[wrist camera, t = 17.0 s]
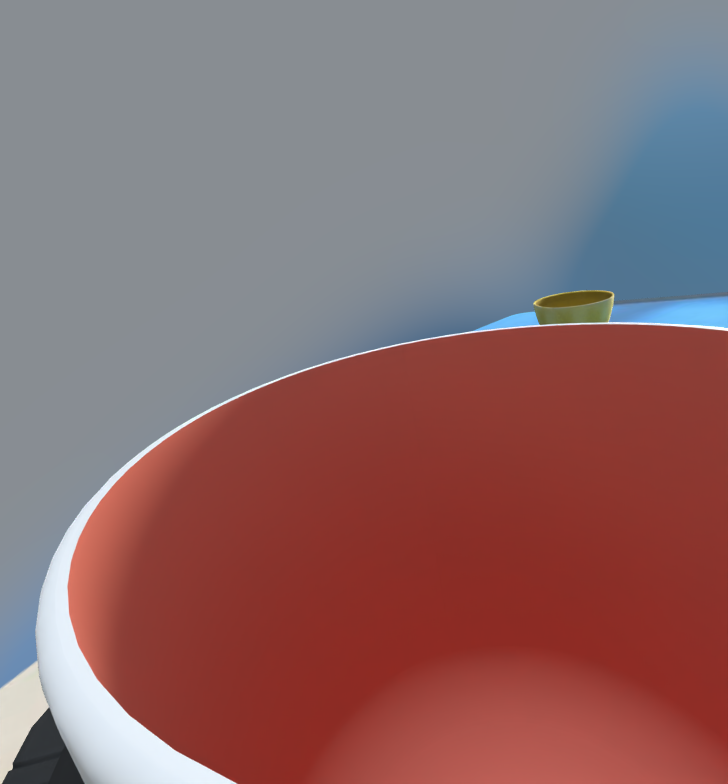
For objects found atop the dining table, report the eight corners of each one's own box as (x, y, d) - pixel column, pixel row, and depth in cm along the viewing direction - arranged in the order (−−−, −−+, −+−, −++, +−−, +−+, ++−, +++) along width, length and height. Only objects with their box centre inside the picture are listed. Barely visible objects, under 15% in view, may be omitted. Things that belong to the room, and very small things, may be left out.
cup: (279, 730, 14) (172, 389, 11) (622, 643, 15) (613, 297, 12) (240, 1769, 4) (-656, 1390, 1) (1224, 1393, 5) (2058, 571, 2)
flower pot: (543, 364, 67) (540, 310, 65) (531, 345, 77) (528, 297, 74) (625, 354, 65) (624, 298, 63) (603, 335, 75) (601, 287, 72)
